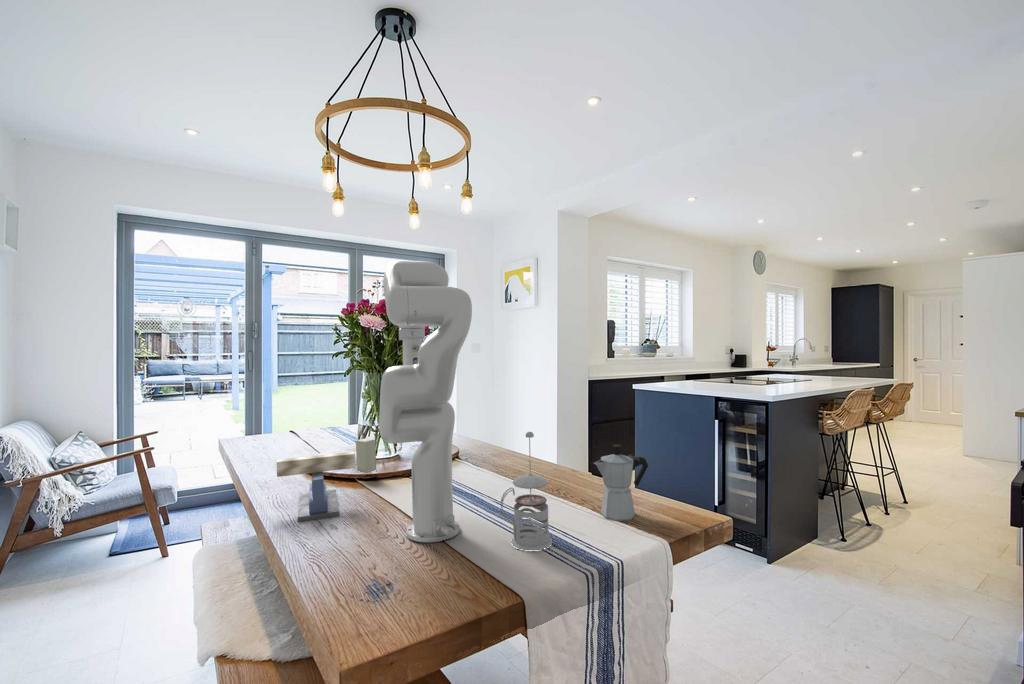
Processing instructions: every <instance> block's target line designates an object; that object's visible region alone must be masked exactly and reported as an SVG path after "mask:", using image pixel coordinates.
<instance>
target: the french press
mask: <svg viewBox="0 0 1024 684" xmlns="http://www.w3.org/2000/svg"><path fill="white" fill-rule="evenodd" d="M534 436H535V435H534V433H533V432H532V431H527V432H525V437H526V438H528V441H529V442H528V443H529V445H528V446H529V448H528V449H529V452H528V453H529V457H531V438H534ZM531 466H532V465H531V461H529V473H526V474H522V475H519V476H517V477H516V478H514V479H513V481H512V484H513V485H514V486H515V487H516V488H520V489H526V490H527V489H528V490H529V493H528V494H522V495H521V494H520V495H518V496H517V497H515V498H514V502H515V504H514V505H513V518H514V519H513V518H511V517H510V516H508V515H507V514H506V513H505V511H504V505H503V503H504V499H505V498H506V497H507V496H508V494H509V493H511V492H512V495H513V496H515V495H516V494H515V489H514V487H509V488H508V489H506V490H505V491H504V492H503V495H502V496H501V500H500V508H501V512H502V513H501V514H502V515H503V517H504V518H505V519H506V520H507V521H509V522H510V523H512V525H513V537H512V538H511V539H512V541H511V540H510V541H511V543H512V544H513V546H515V547H517V548H519V549H523V550H540V549H544V548H546V547H549V546H550V545H551V544H552V540H553V539H552V538H551V537H550V535H549V533H550V532H549V505H548V504H547V501H548V499H547V498H546V497H545V496H544V495H540V494H534V493H533V494H532V490H533V489H540V488H541V489H542V488H545V487H546V486H548V484H549V480H548V479H546V478H545V477H544V476H542V475H539V474H535V473H531V470H532V469H531ZM522 507H524V508H522ZM520 508H521V509H520ZM532 508H534V509H535V510H537V511H535V510H533V509H532ZM523 518H524V519H523ZM521 519H522V520H521ZM532 519H533V520H532ZM534 520H535V521H534ZM533 525H534V526H533ZM536 526H537V527H536ZM540 528H541V529H540Z"/></svg>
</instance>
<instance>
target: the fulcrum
mask: <svg viewBox="0 0 1024 684" xmlns="http://www.w3.org/2000/svg"><path fill="white" fill-rule="evenodd" d="M297 508H298V509H297V523H300V522H301V521H302V522H306V521H307V522H308V521H313V520H319V519H320V520H321V519H327V518H328V519H329V518H334V517H339V516H340V509H339V502H338V496H337V489H329V490H327V482H326V481H324V472H316V473H311V483H309V492H308V493H301V494H299V496H298V507H297Z"/></svg>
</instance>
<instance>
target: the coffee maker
mask: <svg viewBox="0 0 1024 684" xmlns="http://www.w3.org/2000/svg"><path fill="white" fill-rule="evenodd" d="M621 450H622V445H621V444H612V451H613V454H609V455H603V456H601V457H600V459H598V460H597V461H595V462H593V464H594V465H596V467H597V469H598V471H599V473H600V474H601V477H602V480H603V485H604V486H605V487H604V488H603V493H602V499H601V509H600V515H601V516H602V517H603V518H604V519H606V520H611V521H616V522H625V521H632V519H634V517H635V516H636V512H635V507H634V501H633V495H632V490H631V488H630V487H631V486H632V478H633V477H632V476H633V470H634V469H635V468H637V467H639V466H641V468H640V469H639V472H638V473H637V476H636V477H635V479H634V481H633V484H634V485H635V486H636V487H638V486H639V485H640V482H641V480H642V478H644V474H645V473H646V471H647V469H648V467H649V464H648V462H647V460H646V458H645V457H642V456H635V455H634V454H629V455H624V454H621Z"/></svg>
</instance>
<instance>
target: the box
mask: <svg viewBox="0 0 1024 684" xmlns="http://www.w3.org/2000/svg"><path fill="white" fill-rule="evenodd" d="M355 451H356V452H355V458H356V472H357V471H360V472H365V473H368V472H371V471H374V470H376V471H377V457H376V454H377V453H376V439H374V438H361V439H356V441H355Z"/></svg>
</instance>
